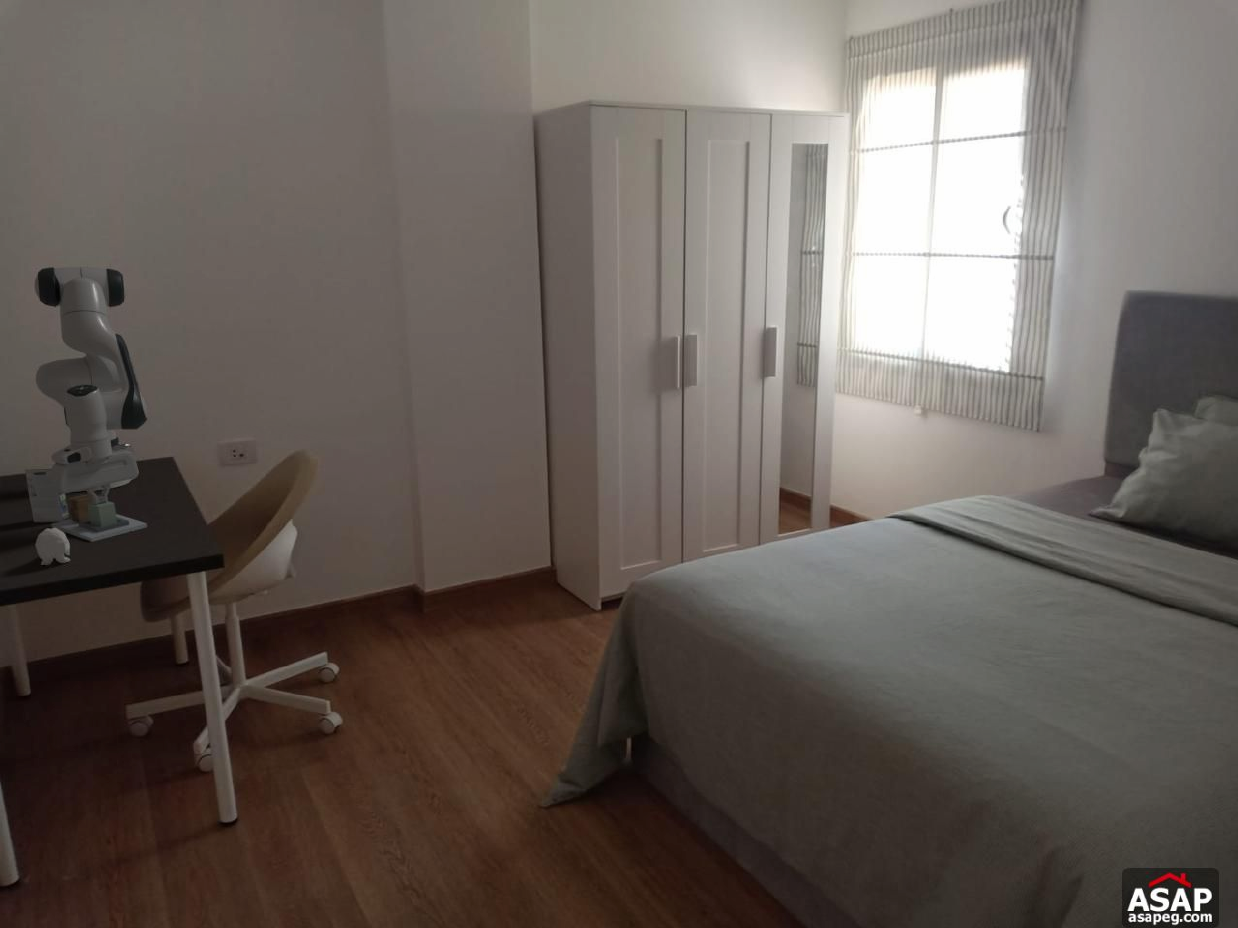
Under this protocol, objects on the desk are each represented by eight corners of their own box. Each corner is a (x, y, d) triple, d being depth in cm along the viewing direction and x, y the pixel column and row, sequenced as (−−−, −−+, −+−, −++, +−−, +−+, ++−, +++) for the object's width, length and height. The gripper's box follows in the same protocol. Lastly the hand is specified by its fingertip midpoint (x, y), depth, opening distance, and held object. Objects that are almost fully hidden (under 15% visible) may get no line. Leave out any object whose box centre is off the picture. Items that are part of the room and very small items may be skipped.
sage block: (90, 525, 249) (87, 503, 248) (106, 521, 252) (103, 499, 251) (102, 529, 246) (98, 506, 244) (117, 525, 249) (114, 502, 247)
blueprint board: (51, 527, 252) (47, 501, 251) (106, 514, 263) (102, 489, 261) (91, 541, 239) (87, 514, 238) (147, 527, 250) (143, 501, 248)
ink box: (41, 518, 261) (32, 466, 257) (70, 518, 260) (61, 465, 257) (33, 522, 257) (23, 469, 253) (62, 522, 257) (53, 468, 253)
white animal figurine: (31, 532, 218) (41, 523, 229) (37, 569, 220) (47, 558, 231) (63, 528, 221) (71, 519, 232) (68, 565, 222) (77, 554, 233)
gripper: (126, 440, 254) (134, 491, 257) (44, 456, 238) (53, 510, 242) (138, 443, 250) (146, 494, 254) (55, 459, 235) (65, 514, 238)
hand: (100, 502), depth 248 cm, fingers closed
